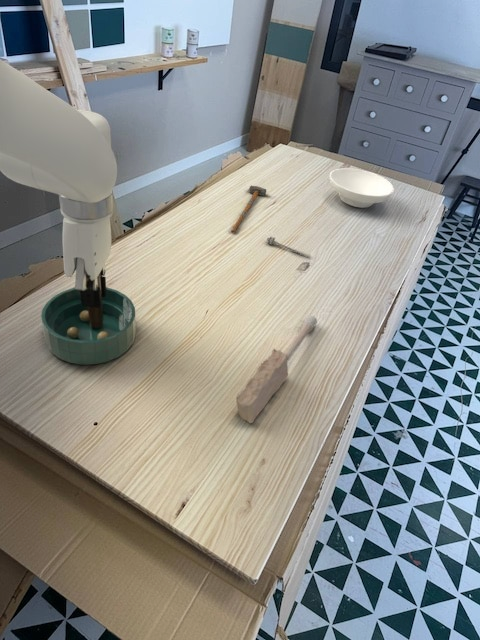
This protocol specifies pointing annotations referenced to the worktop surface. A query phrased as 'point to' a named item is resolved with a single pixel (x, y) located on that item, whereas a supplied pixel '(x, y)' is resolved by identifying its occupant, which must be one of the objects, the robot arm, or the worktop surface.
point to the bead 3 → (103, 335)
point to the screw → (271, 240)
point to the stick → (96, 310)
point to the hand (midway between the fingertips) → (94, 299)
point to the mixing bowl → (88, 327)
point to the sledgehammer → (250, 202)
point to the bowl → (360, 187)
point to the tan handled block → (269, 377)
